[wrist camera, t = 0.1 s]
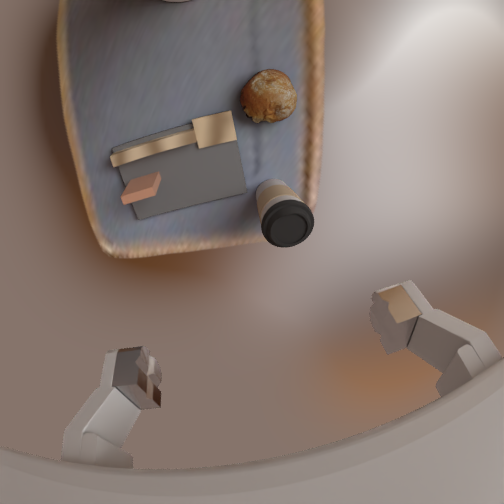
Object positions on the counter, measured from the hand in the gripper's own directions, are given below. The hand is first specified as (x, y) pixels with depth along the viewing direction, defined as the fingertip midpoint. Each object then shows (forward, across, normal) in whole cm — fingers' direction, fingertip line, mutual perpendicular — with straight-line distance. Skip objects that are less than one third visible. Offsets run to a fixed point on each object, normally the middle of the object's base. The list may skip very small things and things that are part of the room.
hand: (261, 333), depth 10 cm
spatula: (+47, +8, +2) cm, 48 cm away
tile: (+47, +16, +8) cm, 50 cm away
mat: (+48, +8, +8) cm, 49 cm away
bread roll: (+48, -10, -2) cm, 49 cm away
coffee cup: (+48, -8, +18) cm, 52 cm away
